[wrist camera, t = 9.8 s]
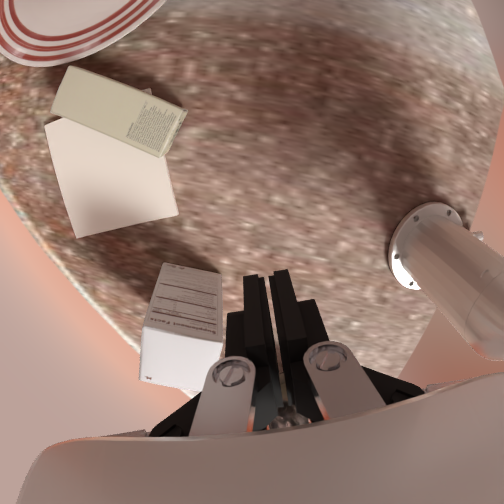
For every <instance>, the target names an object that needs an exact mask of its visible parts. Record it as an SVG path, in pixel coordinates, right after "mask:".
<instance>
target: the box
mask: <svg viewBox="0 0 504 504" xmlns="http://www.w3.org/2000/svg"><path fill="white" fill-rule="evenodd" d="M50 113H53V114H56V115H58V116H61V117H64V118H66V119H69V120H71V121H73V122H76V123H78V124H81V125H83V126H86V127H88V128H91V129H93V130H95V131H98V132H100V133H102V134H105V135H107V136H109V137H112V138H114V139H116V140H119V141H121V142H123V143H126V144H128V145H130V146H132V147H134V148H137V149H139V150H141V151H144V152H146V153H148V154H150V155H153V156H155V157H157V158H160V157H162V156H163V155H165V154H166V153H167V152H168V151H169V149H170V147H171V145H172V142H173V140H174V138H175V136H176V134H177V132H178V130H179V128H180V126H181V124H182V122H183V120H184V118H185V117H186V115H187V113H188V111H187V110H186V109H184V108H181V107H179V106H177V105H175V104H172V103H170V102H168V101H166V100H163V99H161V98H159V97H156V96H154V95H151V94H149V93H147V92H144V91H142V90H139V89H137V88H134V87H132V86H129V85H127V84H124V83H121V82H119V81H116V80H113V79H111V78H108V77H105V76H103V75H100V74H97V73H94V72H91V71H88V70H85V69H83V68H79V67H76V66H72V65H70V66H69V67H68V69H67V71H66V73H65V75H64V78H63V80H62V82H61V84H60V86H59V88H58V91H57V94H56V97H55V99H54V102H53V105H52V107H51V110H50Z"/></svg>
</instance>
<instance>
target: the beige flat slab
mask: <svg viewBox="0 0 504 504" xmlns="http://www.w3.org/2000/svg"><path fill="white" fill-rule="evenodd" d="M142 91H144V92H147V93H149V94H151V95H152V91H151V88H148V89H144V90H142ZM44 127H45V131H46V136H47V140H48V145H49V149H50V153H51V157H52V161H53V165H54V168H55V172H56V176H57V179H58V183H59V186H60V190H61V193H62V196H63V200H64V203H65V206H66V209H67V212H68V215H69V218H70V221H71V224H72V227H73V230H74V233H75V236H76V238H80V237H84V236H88V235H92V234H97V233H101V232H105V231H109V230H113V229H117V228H122V227H126V226H130V225H135V224H139V223H144V222H148V221H153V220H157V219H162V218H167V217H171V216H176V215H178V214H179V212H178V208H177V204H176V200H175V196H174V192H173V188H172V184H171V180H170V175H169V171H168V167H167V162H166V158H165V155H163V156H162V157H160V158H157V157H155V156H153V155H150V154H148V153H146V152H144V151H141V150H139V149H137V148H134V147H132V146H130V145H128V144H126V143H123V142H121V141H119V140H116V139H114V138H112V137H109V136H107V135H105V134H102V133H100V132H98V131H95V130H93V129H91V128H88V127H86V126H83V125H81V124H78V123H76V122H73V121H71V120H69V119H66V118H64V117H63V118H61V119H58V120H56V121H54V122H51V123H49V124H47V125H44Z"/></svg>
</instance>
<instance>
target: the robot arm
mask: <svg viewBox="0 0 504 504" xmlns="http://www.w3.org/2000/svg"><path fill="white" fill-rule="evenodd" d="M482 240H483V233H482V232H481V231H477V232H473V233H472V232H470V231H469V230H467V229H466V228H464V227H463V223H462V220H461V218H460V216H459V215H458V213H457V212H456V211H455V210H454V209H453V208H452V207H450V206H448V205H446V204H444V203H441V202H428V203H424V204H422V205H419V206H418V207H416V208H414V209H413V210H411V211H410V212H409V213H408V214H407V215H406V216H405V217H404V218H403V219H402V221H401V222H400V223H399V225H398V226H397V228H396V230H395V232H394V234H393V236H392V239H391V242H390V246H389V254H388V260H389V266H390V269H391V272H392V274H393V275H394V277H395V278H396V279H397V280H398V282H399V283H401V284H402V285H403V286H405V287H407V288H410V289H421V290H422V291H423V292H424V293H425V294H426V295H427V296H428V297H429V299H430V300H431V301H432V302H433V303H434V304H435V305H436V306H437V308H438V309H439V310H440V311H441V312H442V313H443V314H444V316H445V317H446V318H447V319H448V320H449V321H450V322H451V324H452V325H453V326H454V327H455V328H456V330H457V331H458V332H459V333H460V334H461V336H462V337H463V338H464V339H465V341H466V342H467V343H468V344H469V345H470V346H471V348H472V349H473V350H474V351H475V352H476V353H477V354H479V355H480V356H482V357H484V358H486V359H489V360H498V361H501V360H504V257H503V256H502V255H500V254H499V253H498V252H496V251H495V250H494V249H492V248H491V247H489V246H488V245H486V244H485V243H484V242H482ZM273 272H274V275H273V276H268V277H269V283H270V289H271V296H272V302H273V308H274V315H275V321H276V327H277V334H278V340H279V346H280V353H281V359H282V365H283V372H284V378H285V385H286V391H287V397H288V404H289V406H291V405H295V408H296V414H297V413H298V414H300V415H302V416H304V417H306V418H308V422H309V424H303V425H297V426H291V427H284V428H278V429H270V430H269V424H270V423H271V422H272V421H273V420H274V419H275V418H276V417H278V416H279V415H278V407H284V405H283V398H282V391H281V384H280V377H279V370H278V363H277V355H276V348H275V341H274V335H273V329H272V323H271V317H270V311H269V305H268V299H267V293H266V287H265V281H264V277H260V278H258V274H255V275H249V276H243V290H244V311H238V312H231V313H228V314H227V327H226V348H225V358H223V359H220V360H219V361H217V362H215V363H214V364H213V365H212V366H211V367H210V369H209V371H208V373H207V376H206V379H205V383H204V386H203V389H202V391H201V392H200V393H199V394H197V395H196V396H195V397H194V398H192V399H191V400H190V401H189V402H187V403H186V404H184V405H183V406H182V407H181V408H179V409H178V410H176V411H175V412H174V413H172V414H171V415H170V416H168V417H167V418H166V419H164V420H163V421H161V422H160V423H159V424H157V426H155V427H154V428H153V429H152V431H151V432H146V431H145V430H139V431H133V432H127V433H121V434H115V435H108V436H101V437H86V438H78V439H71V440H67V441H64V442H60V443H57V444H54V445H52V446H49V447H47V448H46V449H44V450H43V451H42V452H41V453H40V454H39V455H38V457H37V458H36V460H35V461H34V462H33V464H32V466H31V468H30V470H29V472H28V474H27V476H26V478H25V481H24V483H23V485H22V488H21V491H20V494H19V496H18V499H17V502H16V504H504V372H500V373H493V374H488V375H483V376H479V377H475V378H469V379H464V380H458V381H451V382H445V383H438V384H430V385H427V387H426V389H421V388H420V387H418V386H416V385H414V384H412V383H408V382H406V381H403V380H399V379H397V378H394V377H391V376H388V375H385V374H383V373H380V372H377V371H374V370H372V369H369V368H366V367H363V366H361V365H360V364H359V362H358V361H357V359H356V358H355V356H354V355H353V353H352V352H351V350H350V349H349V348H348V347H347V346H346V345H344V344H342V343H339V342H335V341H329V338H328V335H327V332H326V330H325V327H324V324H323V321H322V318H321V316H320V313H319V310H318V307H317V305H316V302H315V300H314V299H311V300H305V301H300V302H297V300H296V296H295V293H294V289H293V286H292V282H291V279H290V275H289V272H288V269H286V270H280V271H273Z"/></svg>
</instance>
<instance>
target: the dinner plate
mask: <svg viewBox="0 0 504 504" xmlns="http://www.w3.org/2000/svg"><path fill="white" fill-rule="evenodd" d="M166 1H167V0H0V52H1V53H2V54H3V55H4V56H5V57H7V58H8V59H10V60H12V61H14V62H16V63H19V64H22V65H26V66H32V67H48V66H55V65H60V64H65V63H69V62H72V61H75V60H78V59H81V58H84V57H86V56H88V55H91V54H93V53H95V52H98V51H99V50H101V49H103V48H105V47H107V46H109V45H110V44H112V43H114V42H116V41H117V40H119V39H121V38H122V37H123V36H125V35H127V34H128V33H130V32H131V31H132V30H134V29H135V28H136V27H138V26H139V25H140V24H141V23H143V22H144V21H145V20H146V19H148V18H149V17H150V16H151V15H152V14H153V13H154V12H156V11H157V10H158V9H159V8H160V7H161V6H162V5H163V4H164V3H165V2H166Z"/></svg>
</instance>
